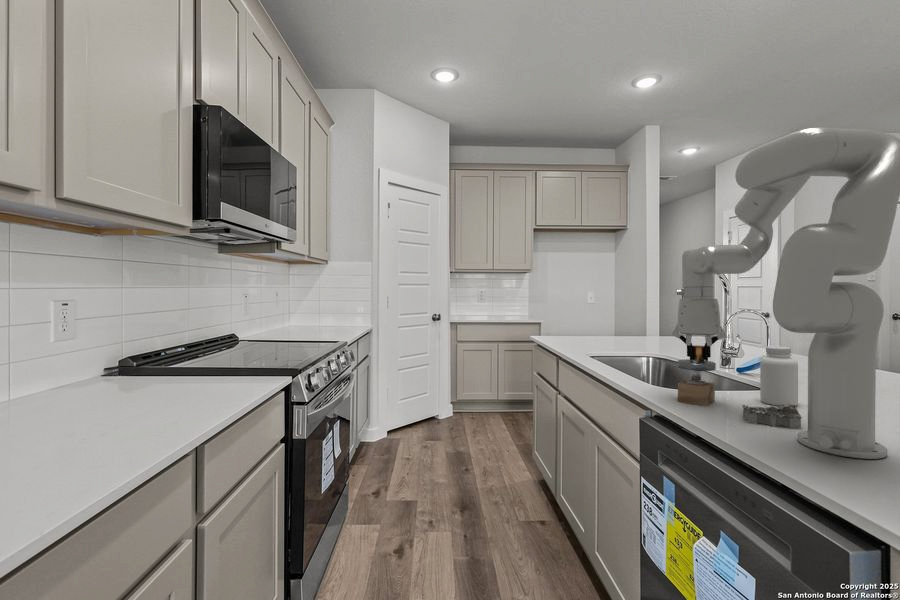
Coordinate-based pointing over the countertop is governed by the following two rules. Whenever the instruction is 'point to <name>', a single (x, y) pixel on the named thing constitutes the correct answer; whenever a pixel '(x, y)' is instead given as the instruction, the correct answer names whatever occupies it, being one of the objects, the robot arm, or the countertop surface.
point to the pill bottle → (779, 377)
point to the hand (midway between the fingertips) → (698, 359)
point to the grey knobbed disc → (697, 363)
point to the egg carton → (773, 415)
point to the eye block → (696, 392)
